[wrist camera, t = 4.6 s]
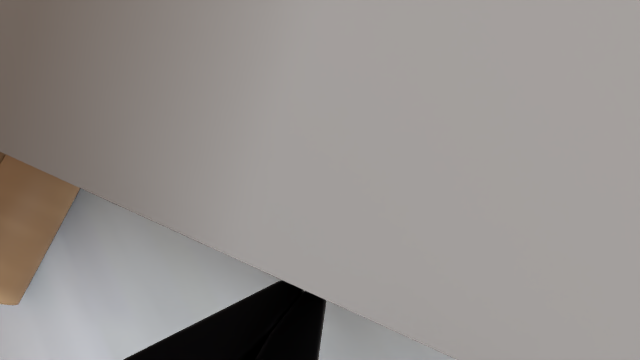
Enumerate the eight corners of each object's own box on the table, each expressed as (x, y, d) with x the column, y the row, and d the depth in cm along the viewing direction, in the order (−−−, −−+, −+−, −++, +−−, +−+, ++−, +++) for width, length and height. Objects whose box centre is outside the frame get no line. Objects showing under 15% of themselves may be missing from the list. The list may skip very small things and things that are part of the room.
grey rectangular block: (537, 392, 11) (725, 482, 4) (152, 217, 13) (-109, 102, 7) (618, 163, 12) (877, -51, 5) (245, 34, 14) (96, -233, 7)
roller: (34, 306, 19) (-19, 302, 16) (-22, 276, 19) (-81, 269, 17) (161, 66, 20) (128, 32, 18) (105, 45, 21) (67, 10, 18)
